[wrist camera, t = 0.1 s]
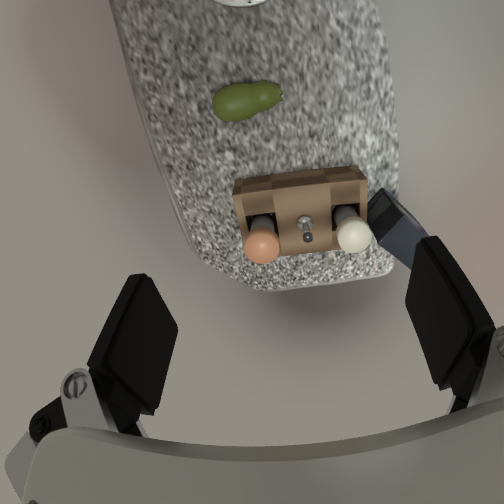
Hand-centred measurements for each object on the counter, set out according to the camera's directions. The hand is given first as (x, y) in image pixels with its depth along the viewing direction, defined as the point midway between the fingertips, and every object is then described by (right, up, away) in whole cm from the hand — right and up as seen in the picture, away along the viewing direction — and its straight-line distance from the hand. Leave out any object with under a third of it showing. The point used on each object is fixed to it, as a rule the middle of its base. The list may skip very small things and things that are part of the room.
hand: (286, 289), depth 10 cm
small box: (+24, +8, +38) cm, 46 cm away
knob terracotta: (+1, +6, +36) cm, 36 cm away
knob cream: (+13, +8, +34) cm, 37 cm away
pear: (-2, +24, +28) cm, 37 cm away
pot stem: (+7, +6, +33) cm, 35 cm away
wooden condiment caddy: (+7, +9, +38) cm, 40 cm away
